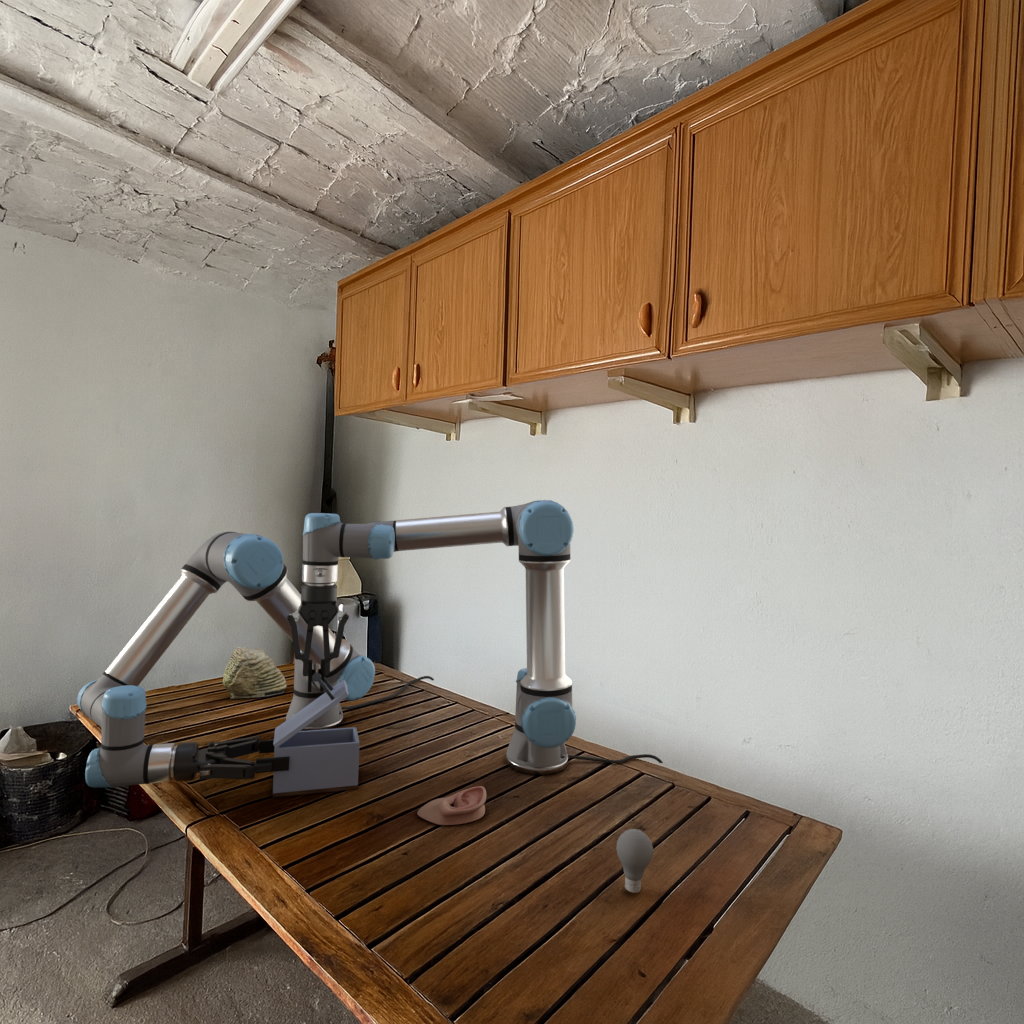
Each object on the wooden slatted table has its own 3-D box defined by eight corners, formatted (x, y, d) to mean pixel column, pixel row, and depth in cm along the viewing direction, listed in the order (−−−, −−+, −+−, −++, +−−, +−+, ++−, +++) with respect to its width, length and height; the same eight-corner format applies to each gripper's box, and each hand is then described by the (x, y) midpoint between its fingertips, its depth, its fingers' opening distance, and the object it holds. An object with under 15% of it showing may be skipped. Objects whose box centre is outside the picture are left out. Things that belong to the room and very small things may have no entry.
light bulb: (610, 879, 108) (613, 822, 108) (644, 879, 109) (647, 822, 109) (619, 902, 102) (622, 840, 102) (655, 901, 103) (658, 840, 103)
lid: (346, 682, 146) (325, 654, 144) (349, 695, 137) (327, 665, 135) (277, 731, 142) (255, 703, 140) (275, 748, 133) (252, 718, 131)
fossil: (218, 695, 195) (220, 647, 195) (278, 685, 208) (279, 640, 207) (228, 703, 189) (230, 653, 188) (289, 692, 201) (290, 645, 201)
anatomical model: (412, 801, 125) (431, 776, 136) (411, 820, 125) (430, 795, 136) (477, 810, 122) (491, 784, 134) (476, 830, 122) (490, 803, 134)
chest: (354, 770, 147) (356, 727, 147) (357, 788, 138) (359, 742, 138) (274, 777, 142) (276, 732, 142) (272, 797, 133) (274, 749, 132)
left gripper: (184, 758, 142) (290, 751, 149) (163, 805, 121) (287, 793, 128) (185, 725, 142) (291, 719, 149) (164, 766, 120) (289, 756, 127)
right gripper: (282, 586, 133) (278, 697, 133) (355, 585, 138) (351, 693, 138) (283, 581, 140) (280, 686, 141) (353, 581, 145) (349, 683, 145)
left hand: (289, 753), depth 138 cm, fingers closed on chest, 10 cm apart
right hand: (315, 689), depth 139 cm, fingers closed on lid, 2 cm apart
